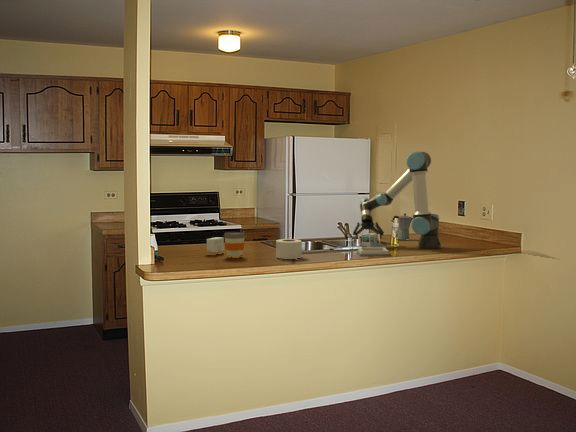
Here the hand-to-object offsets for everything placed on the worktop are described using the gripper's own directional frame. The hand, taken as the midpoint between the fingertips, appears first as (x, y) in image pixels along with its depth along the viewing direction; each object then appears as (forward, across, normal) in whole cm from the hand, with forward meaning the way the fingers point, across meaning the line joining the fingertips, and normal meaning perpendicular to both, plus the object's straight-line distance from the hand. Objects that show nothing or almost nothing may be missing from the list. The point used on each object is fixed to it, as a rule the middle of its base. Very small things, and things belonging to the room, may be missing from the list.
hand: (369, 242), depth 412 cm
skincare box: (+16, +99, +9) cm, 101 cm away
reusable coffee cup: (+26, +86, +19) cm, 91 cm away
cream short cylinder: (+27, +53, +20) cm, 63 cm away
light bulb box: (+2, 0, -5) cm, 6 cm away
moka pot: (-36, -32, -44) cm, 65 cm away
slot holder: (+16, 0, +9) cm, 18 cm away
